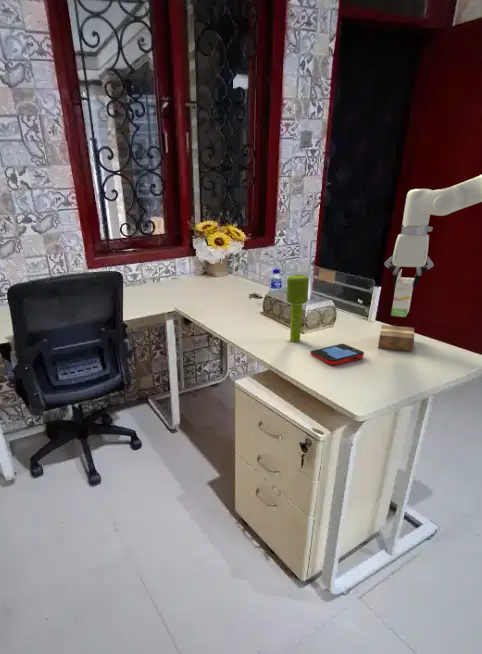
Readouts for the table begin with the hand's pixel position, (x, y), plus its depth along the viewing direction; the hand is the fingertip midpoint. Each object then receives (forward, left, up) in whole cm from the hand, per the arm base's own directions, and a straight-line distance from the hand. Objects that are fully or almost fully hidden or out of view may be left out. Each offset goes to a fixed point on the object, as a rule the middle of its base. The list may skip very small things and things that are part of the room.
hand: (404, 285), depth 142 cm
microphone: (+35, +7, -22) cm, 42 cm away
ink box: (0, 0, -10) cm, 10 cm away
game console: (+18, +17, -22) cm, 33 cm away
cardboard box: (0, 0, -22) cm, 22 cm away
